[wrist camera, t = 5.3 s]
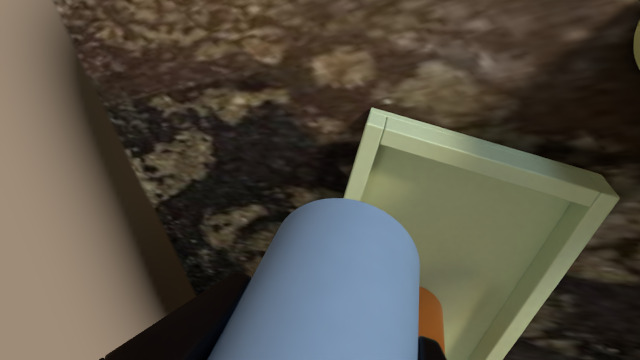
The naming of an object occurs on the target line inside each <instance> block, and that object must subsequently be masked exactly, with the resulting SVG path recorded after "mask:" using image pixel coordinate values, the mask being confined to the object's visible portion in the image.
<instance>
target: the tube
mask: <svg viewBox="0 0 640 360" xmlns="http://www.w3.org/2000/svg"><path fill="white" fill-rule="evenodd" d="M633 50H634V57H635V60H636V63H637V65H638V67H639V69H640V20H639V22H638V25H637V28H636V31H635V35H634V47H633Z"/></svg>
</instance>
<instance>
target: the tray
mask: <svg viewBox="0 0 640 360" xmlns="http://www.w3.org/2000/svg"><path fill="white" fill-rule="evenodd" d="M343 198H345V199H352V200H357V201H361V202H365V203H367V204H370V205H372V206H375V207H377V208H379V209H381V210H383V211H384V212H386V213H387V214H389V215H390V216H392V217H393V218H394V219H395V220H397V221H398V222H399V223H400V224H401V225H402V226H403V227H404V228H405V230H406V231H407V232H408V234H409V235H410V236H411V238H412V240H413V242H414V244H415V246H416V248H417V251H418V254H419V261H420V280H419V286H420V287H423V288H425V289H427V290H428V291H430V292H431V293H432V294H434V295H435V296H436V297H437V299H438V300H439V302H440V304H441V306H442V310H443V325H444V343H445V357H446V359H447V360H503V358H504V357H505V356H506V354H507V353H508V351H509V350H510V349H511V347H512V346H513V345H514V343H515V342H516V340H517V339H518V338H519V336H520V335H521V334H522V332H523V331H524V329H525V328H526V327H527V325H528V324H529V323H530V321H531V320H532V319H533V317H534V316H535V314H536V313H537V312H538V310H539V309H540V308H541V306H542V305H543V303H544V302H545V301H546V299H547V298H548V297H549V295H550V294H551V292H552V291H553V290H554V288H555V287H556V286H557V284H558V283H559V281H560V280H561V279H562V277H563V276H564V275H565V273H566V272H567V270H568V269H569V268H570V266H571V265H572V264H573V262H574V261H575V259H576V258H577V257H578V255H579V254H580V253H581V251H582V250H583V248H584V247H585V246H586V244H587V243H588V242H589V240H590V239H591V237H592V236H593V235H594V233H595V232H596V231H597V229H598V228H599V226H600V225H601V224H602V222H603V221H604V220H605V218H606V217H607V215H608V214H609V213H610V211H611V210H612V209H613V207H614V206H615V204H616V203H617V202H618V200H619V196H618V195H617V194H616V193H615V191H614V190H613V189H612V188H611V186H610V185H609V184H608V183H607V182H606V180H605V178H604V177H603V176H602V175H601V174H598V173H595V172H591V171H588V170H584V169H581V168H578V167H574V166H571V165H567V164H564V163H561V162H557V161H554V160H550V159H547V158H543V157H540V156H537V155H533V154H530V153H526V152H523V151H519V150H516V149H513V148H509V147H506V146H502V145H499V144H496V143H492V142H489V141H485V140H482V139H478V138H475V137H472V136H468V135H465V134H461V133H458V132H454V131H451V130H448V129H444V128H441V127H437V126H434V125H430V124H427V123H424V122H420V121H417V120H413V119H410V118H407V117H403V116H400V115H396V114H393V113H389V112H386V111H383V110H379V109H376V108H371V110H370V113H369V116H368V119H367V122H366V125H365V128H364V131H363V135H362V138H361V141H360V145H359V148H358V151H357V155H356V158H355V161H354V164H353V168H352V171H351V174H350V178H349V181H348V184H347V188H346V191H345V194H344V197H343Z"/></svg>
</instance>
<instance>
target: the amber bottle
mask: <svg viewBox="0 0 640 360" xmlns="http://www.w3.org/2000/svg"><path fill="white" fill-rule="evenodd" d="M419 336H425V337H428V338H431V339H434V340H436V341H437V342H438V343H439V344H440V346H441V348H442V350H443V353H444V355H445V343H444V325H443V310H442V306H441V304H440V302H439V300H438V299H437V297H436V296H435V295H434V294H432V293H431V292H430V291H428V290H427V289H425V288H423V287H420V286H419V320H418V337H419Z"/></svg>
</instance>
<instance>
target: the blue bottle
mask: <svg viewBox="0 0 640 360" xmlns="http://www.w3.org/2000/svg"><path fill="white" fill-rule="evenodd" d="M419 280H420V261H419V254H418V251H417V248H416V246H415V244H414V242H413V240H412V238H411V236H410V235H409V234H408V232H407V231H406V230H405V228H404V227H403V226H402V225H401V224H400V223H399V222H398V221H397V220H395V219H394V218H393V217H392V216H390V215H389V214H387V213H386V212H384V211H383V210H381V209H379V208H377V207H375V206H372V205H370V204H367V203H365V202H361V201H357V200H352V199H345V198H329V199H321V200H317V201H313V202H310V203H307V204H305V205H303V206H301V207H299V208H297V209H296V210H295V211H293V212H292V213H291V214H290V215H289V216H288V217H287V218H286V219H285V220H284V221H283V223H282V224H281V225H280V227H279V229H278V231H277V233H276V235H275V236H274V238H273V240H272V242H271V244H270V246H269V247H268V249H267V251H266V253H265V255H264V257H263V258H262V260H261V262H260V264H259V266H258V268H257V269H256V271H255V273H254V275H253V277H252V279H251V280H250V282H249V284H248V286H247V288H246V290H245V291H244V293H243V295H242V297H241V299H240V301H239V302H238V304H237V306H236V308H235V310H234V312H233V313H232V315H231V317H230V319H229V321H228V323H227V324H226V326H225V328H224V330H223V332H222V333H221V335H220V337H219V339H218V341H217V343H216V344H215V346H214V348H213V350H212V352H211V354H210V355H209V357H208V359H207V360H418V320H419Z"/></svg>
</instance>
